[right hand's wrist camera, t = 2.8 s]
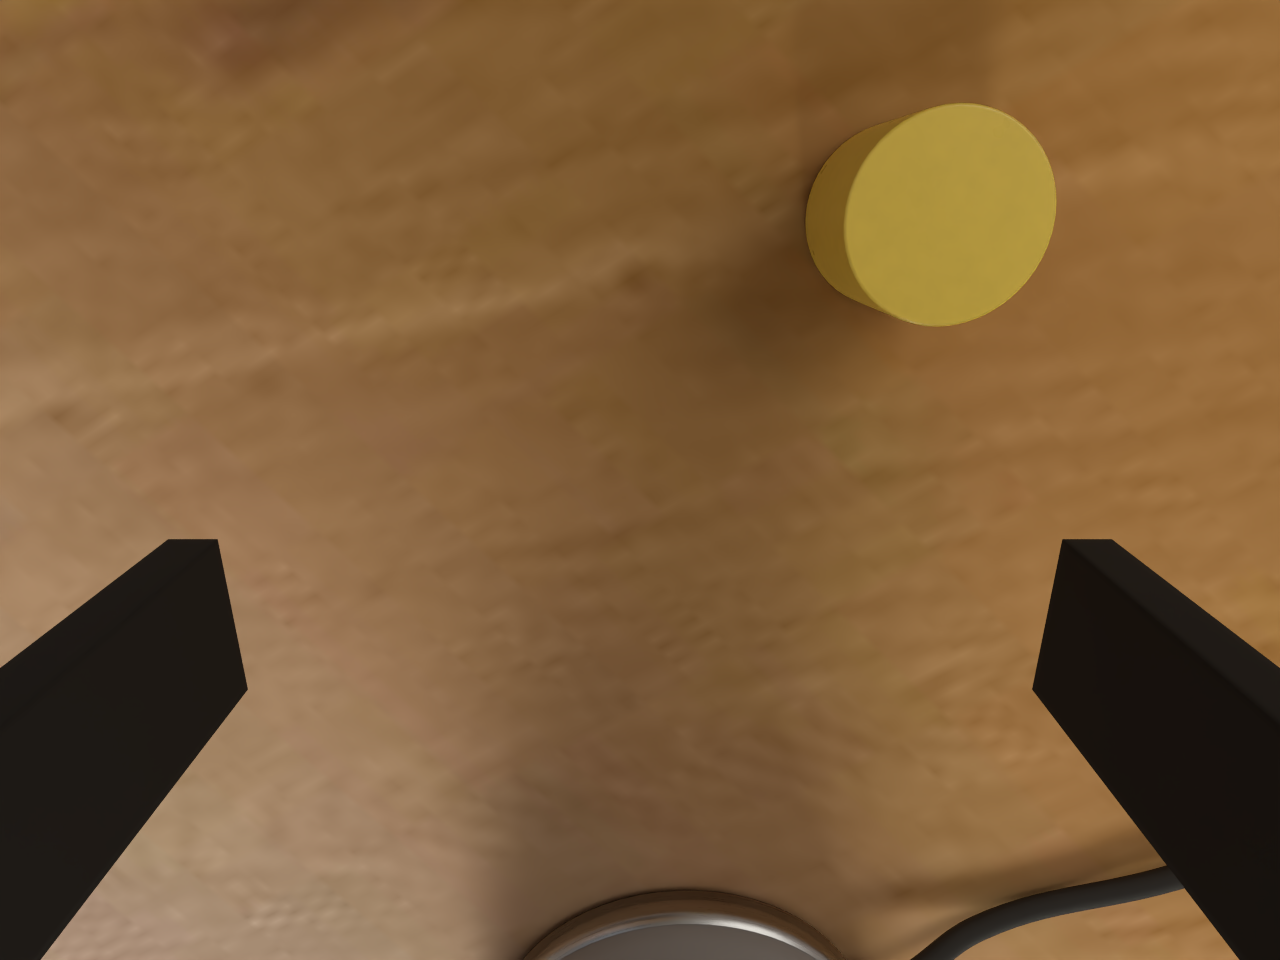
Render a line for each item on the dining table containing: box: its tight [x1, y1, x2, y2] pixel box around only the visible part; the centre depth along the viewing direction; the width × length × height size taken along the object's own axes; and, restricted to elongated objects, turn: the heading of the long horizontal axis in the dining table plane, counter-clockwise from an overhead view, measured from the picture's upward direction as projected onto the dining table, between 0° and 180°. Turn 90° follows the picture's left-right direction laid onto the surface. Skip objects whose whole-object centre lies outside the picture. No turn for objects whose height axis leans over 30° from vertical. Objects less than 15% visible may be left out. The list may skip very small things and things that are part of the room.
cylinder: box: [805, 103, 1056, 327], centre depth 21 cm, size 5×5×4 cm
